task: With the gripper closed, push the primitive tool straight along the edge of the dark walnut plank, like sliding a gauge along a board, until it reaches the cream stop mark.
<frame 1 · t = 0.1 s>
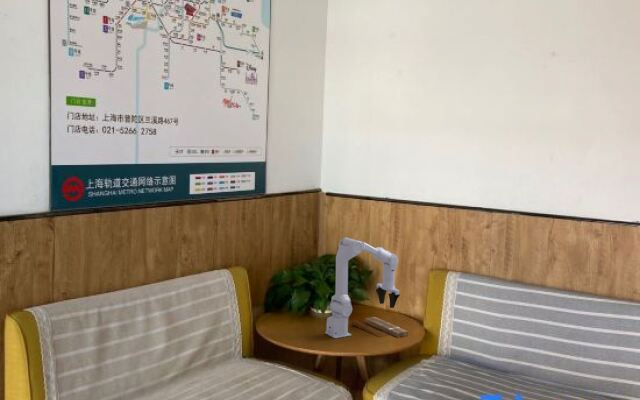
hand: (386, 305, 278), 10 cm above the table, tool pointing down, fingers open, 7 cm apart
primitive tool: (369, 332, 271), on the table
walnut plank: (385, 328, 275), on the table
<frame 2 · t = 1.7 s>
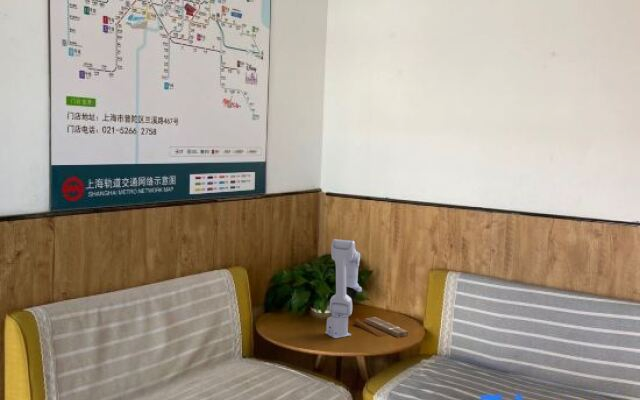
hand: (350, 302, 283), 9 cm above the table, tool pointing down, fingers closed
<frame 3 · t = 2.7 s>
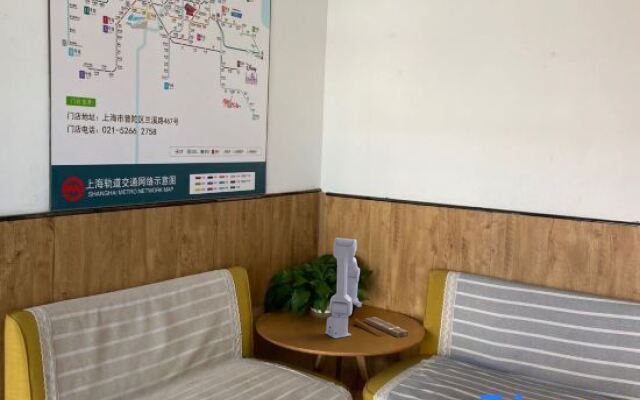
hand: (349, 317, 283), 2 cm above the table, tool pointing down, fingers closed
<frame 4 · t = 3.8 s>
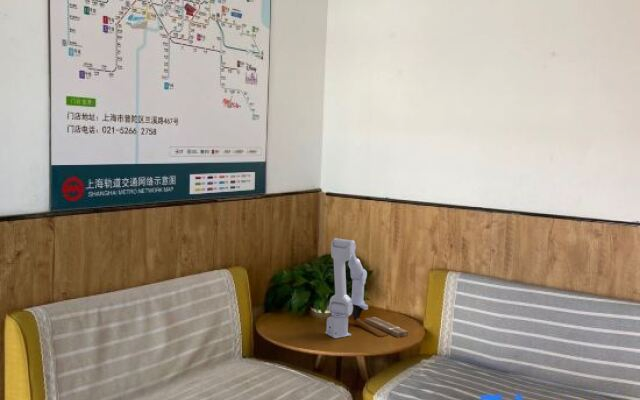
hand: (356, 320, 279), 2 cm above the table, tool pointing down, fingers closed
primitive tool: (370, 331, 271), on the table, touching gripper
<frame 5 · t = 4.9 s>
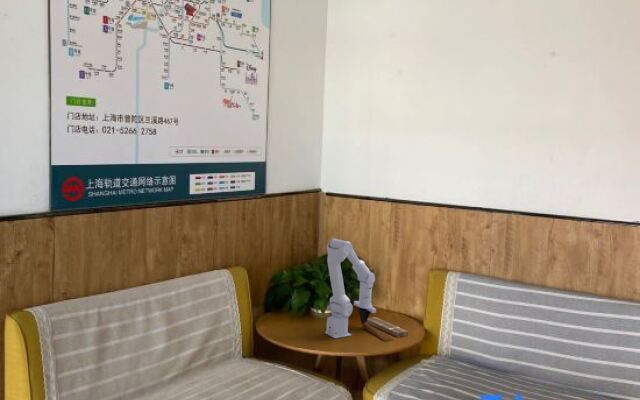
hand: (363, 323, 274), 2 cm above the table, tool pointing down, fingers closed
primitive tool: (377, 335, 266), on the table, touching gripper
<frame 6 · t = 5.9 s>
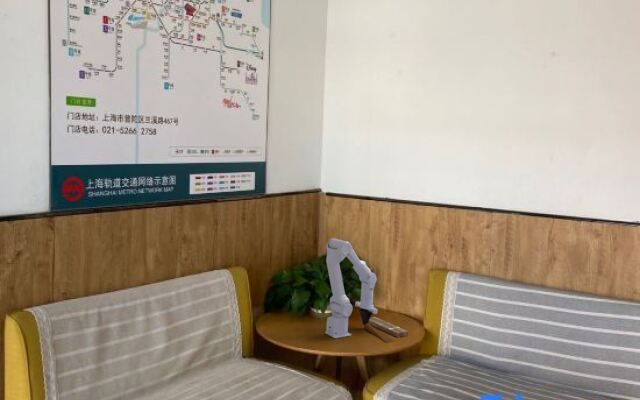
hand: (365, 324, 273), 2 cm above the table, tool pointing down, fingers closed
primitive tool: (379, 336, 265), on the table
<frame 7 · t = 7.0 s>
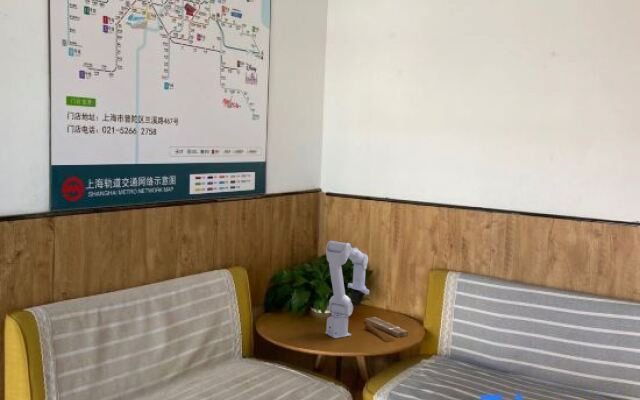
hand: (357, 305, 278), 9 cm above the table, tool pointing down, fingers closed
nothing on the table moved.
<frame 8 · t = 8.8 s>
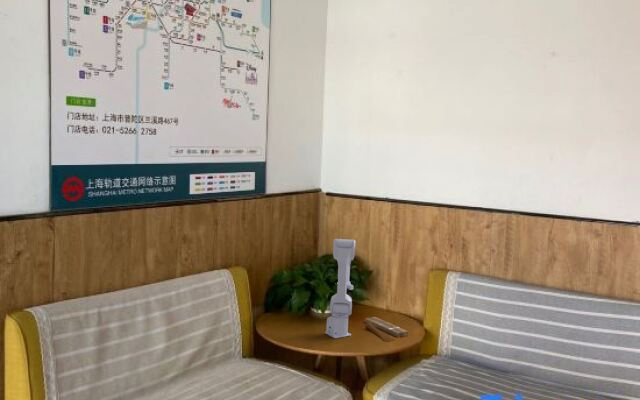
hand: (342, 300, 285), 9 cm above the table, tool pointing down, fingers closed
at the end: primitive tool moved 6.5 cm from its start; primitive tool 1.2 cm from the target spot, on the table; primitive tool tilted 0° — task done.
